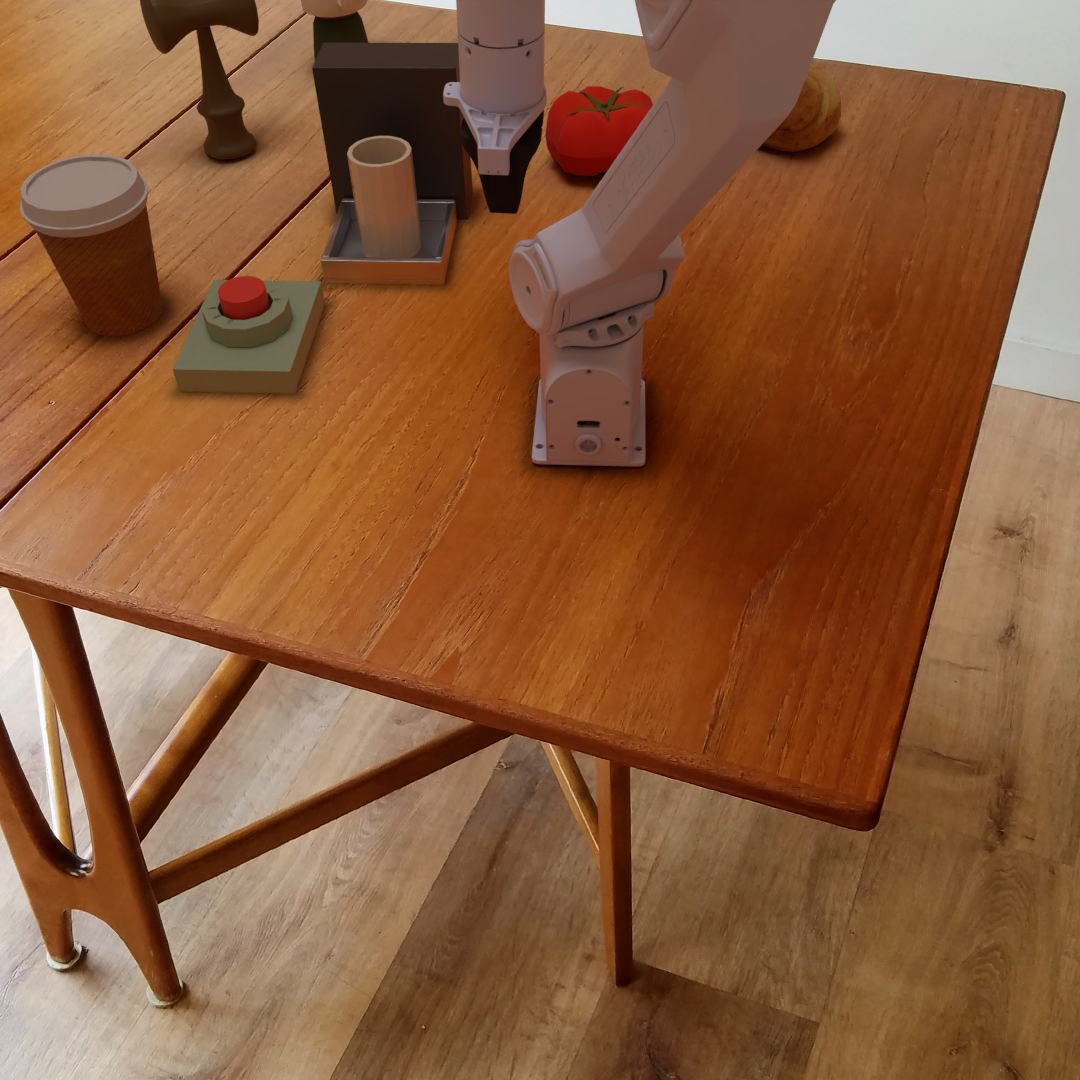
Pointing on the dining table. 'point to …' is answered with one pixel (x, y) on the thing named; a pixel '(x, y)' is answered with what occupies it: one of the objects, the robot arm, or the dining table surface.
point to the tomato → (593, 127)
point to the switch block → (252, 342)
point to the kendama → (208, 62)
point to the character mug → (336, 21)
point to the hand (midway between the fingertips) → (503, 208)
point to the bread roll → (809, 115)
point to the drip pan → (424, 268)
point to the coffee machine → (394, 112)
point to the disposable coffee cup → (98, 238)
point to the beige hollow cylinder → (385, 197)
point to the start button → (243, 298)
